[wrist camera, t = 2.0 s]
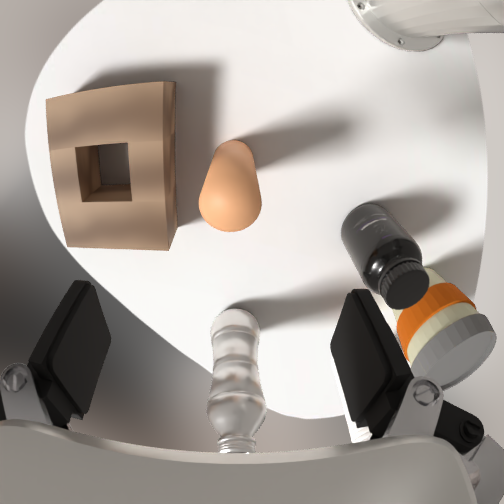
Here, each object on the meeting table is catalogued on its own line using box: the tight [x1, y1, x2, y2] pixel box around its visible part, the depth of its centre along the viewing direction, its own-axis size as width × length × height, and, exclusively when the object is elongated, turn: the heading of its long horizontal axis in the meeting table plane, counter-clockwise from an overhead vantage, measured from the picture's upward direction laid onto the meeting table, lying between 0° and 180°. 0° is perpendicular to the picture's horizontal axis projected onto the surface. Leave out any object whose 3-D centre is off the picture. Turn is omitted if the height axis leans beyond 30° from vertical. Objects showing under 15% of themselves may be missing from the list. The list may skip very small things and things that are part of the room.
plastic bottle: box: [206, 308, 267, 453], centre depth 32 cm, size 6×7×20 cm
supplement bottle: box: [341, 204, 430, 310], centre depth 28 cm, size 7×7×12 cm
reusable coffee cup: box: [392, 267, 496, 391], centre depth 33 cm, size 13×13×15 cm
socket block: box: [46, 81, 178, 251], centre depth 26 cm, size 16×12×5 cm
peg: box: [199, 140, 262, 232], centre depth 24 cm, size 4×4×12 cm
